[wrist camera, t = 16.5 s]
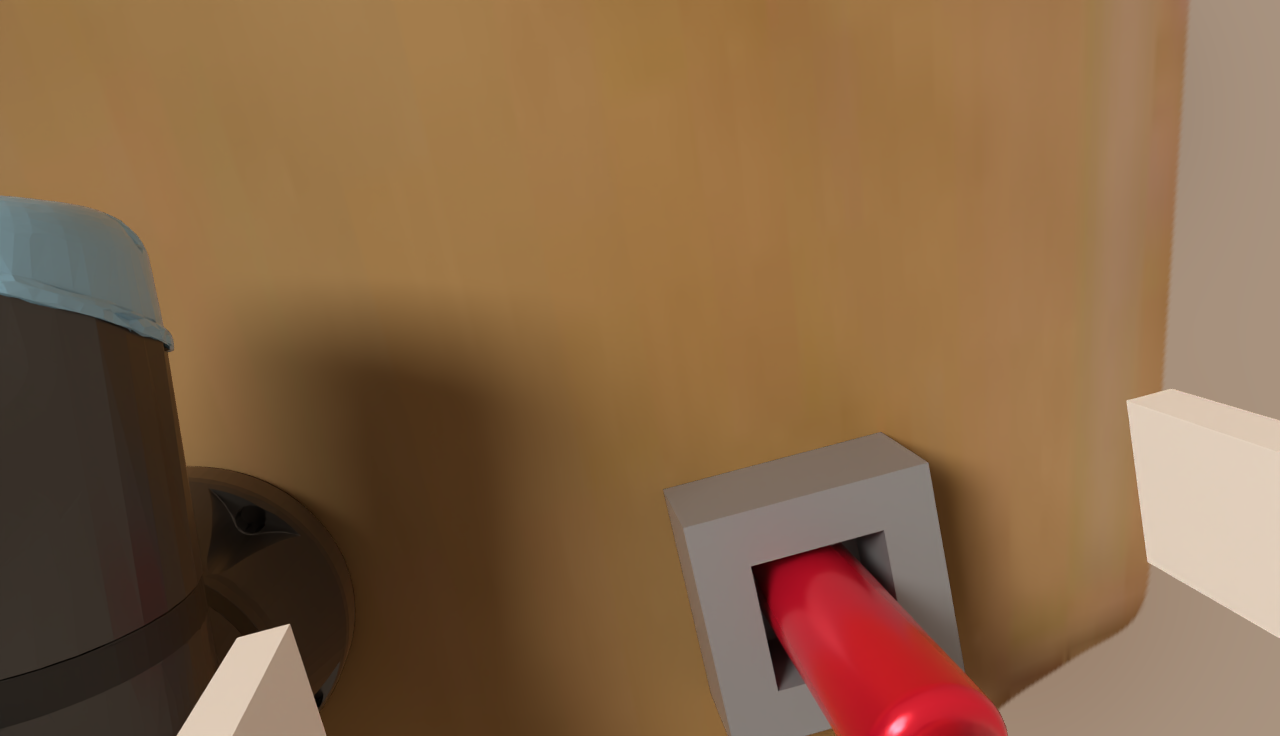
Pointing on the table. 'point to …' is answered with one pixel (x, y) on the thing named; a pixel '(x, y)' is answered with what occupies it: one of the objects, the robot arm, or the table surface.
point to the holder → (794, 523)
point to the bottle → (866, 651)
